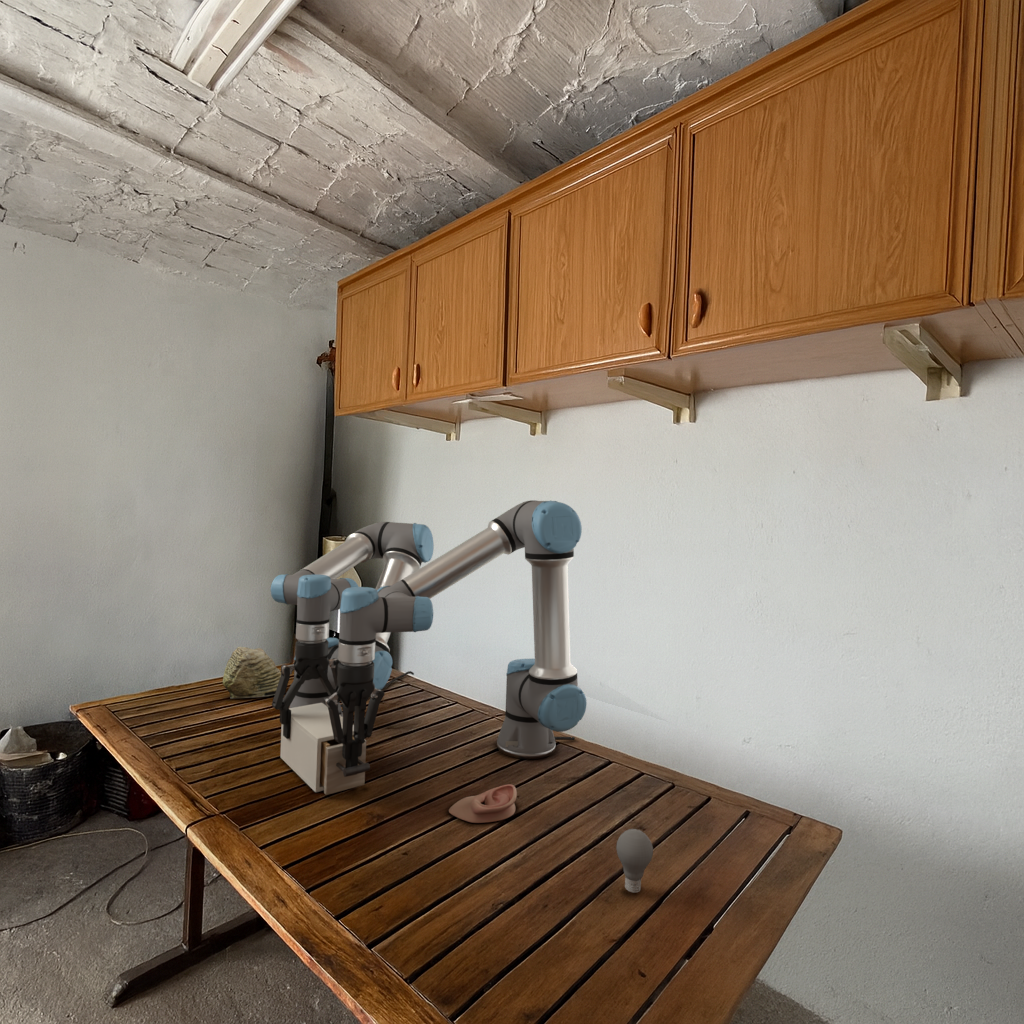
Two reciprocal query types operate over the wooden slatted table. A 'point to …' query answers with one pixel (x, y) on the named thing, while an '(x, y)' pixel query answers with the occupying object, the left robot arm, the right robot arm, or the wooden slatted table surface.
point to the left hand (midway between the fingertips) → (308, 732)
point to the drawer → (340, 768)
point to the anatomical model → (487, 805)
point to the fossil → (251, 674)
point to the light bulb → (634, 857)
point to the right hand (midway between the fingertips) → (351, 772)
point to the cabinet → (307, 742)
